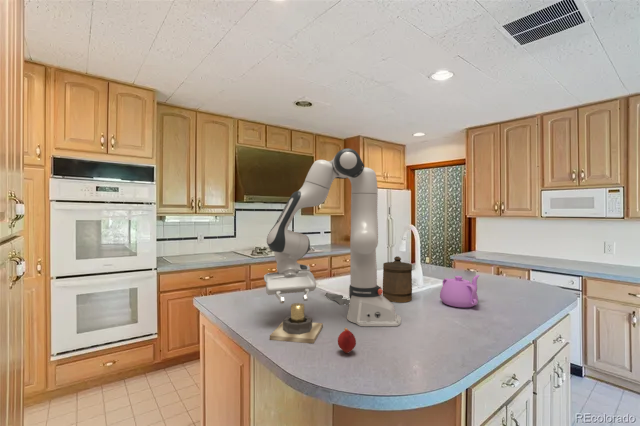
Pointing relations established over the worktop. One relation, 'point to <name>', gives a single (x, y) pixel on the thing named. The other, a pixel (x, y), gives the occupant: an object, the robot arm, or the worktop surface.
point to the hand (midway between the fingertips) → (294, 301)
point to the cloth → (337, 298)
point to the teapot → (459, 292)
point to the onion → (346, 341)
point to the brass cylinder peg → (297, 313)
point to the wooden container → (397, 281)
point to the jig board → (297, 331)
